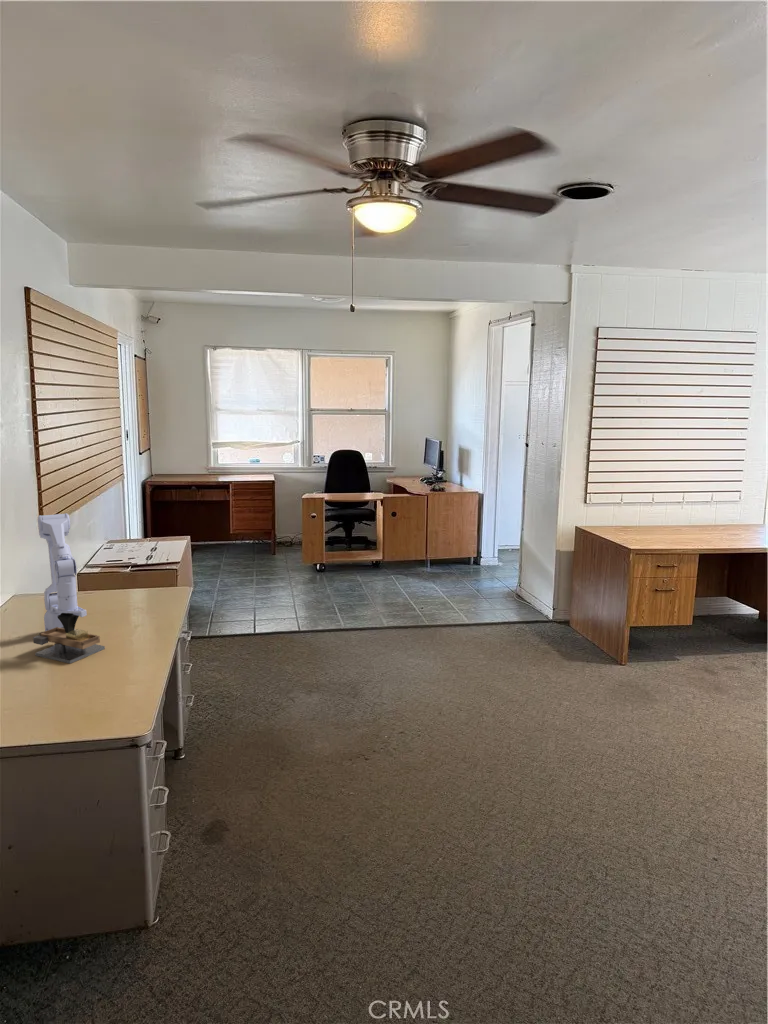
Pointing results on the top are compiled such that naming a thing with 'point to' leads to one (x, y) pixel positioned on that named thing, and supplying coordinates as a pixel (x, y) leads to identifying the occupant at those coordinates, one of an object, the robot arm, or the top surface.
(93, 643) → the brown wooden tray
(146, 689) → the top surface
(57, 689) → the top surface
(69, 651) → the pivot stand
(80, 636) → the yellow block
